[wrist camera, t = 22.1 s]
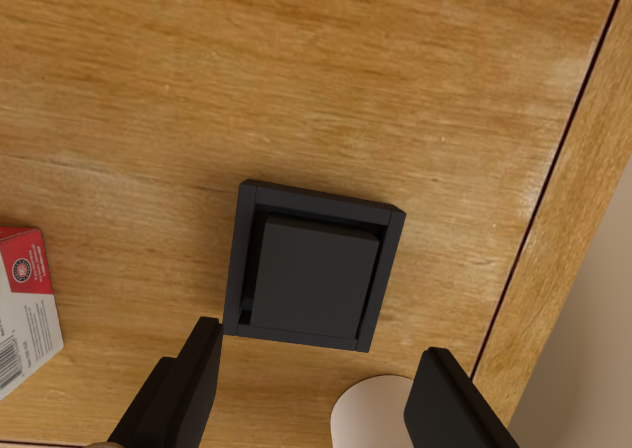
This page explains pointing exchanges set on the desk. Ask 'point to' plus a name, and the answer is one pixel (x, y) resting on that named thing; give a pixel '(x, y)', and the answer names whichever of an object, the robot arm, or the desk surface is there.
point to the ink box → (25, 307)
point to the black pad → (312, 275)
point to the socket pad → (272, 197)
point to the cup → (372, 414)
